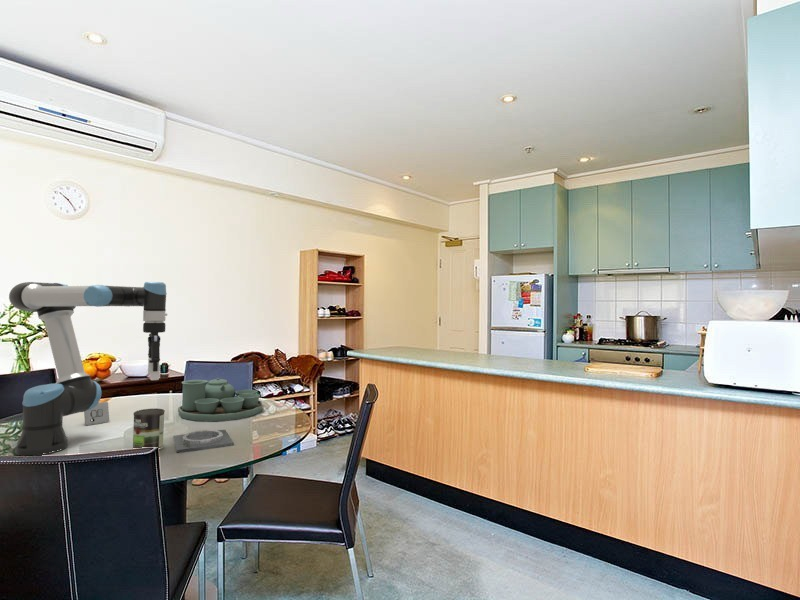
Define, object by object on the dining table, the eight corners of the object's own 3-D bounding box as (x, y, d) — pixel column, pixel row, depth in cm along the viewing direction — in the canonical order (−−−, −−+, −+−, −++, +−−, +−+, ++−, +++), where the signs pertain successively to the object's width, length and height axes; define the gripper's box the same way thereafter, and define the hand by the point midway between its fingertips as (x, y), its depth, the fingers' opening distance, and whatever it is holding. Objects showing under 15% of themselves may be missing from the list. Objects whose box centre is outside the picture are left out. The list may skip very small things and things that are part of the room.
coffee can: (147, 454, 162) (148, 415, 162) (125, 451, 165) (126, 413, 165) (169, 446, 172) (170, 409, 172) (148, 443, 175) (149, 407, 175)
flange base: (176, 452, 164) (177, 446, 164) (173, 438, 182) (173, 432, 182) (233, 445, 175) (233, 438, 175) (224, 431, 192) (225, 426, 192)
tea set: (216, 427, 200) (216, 390, 200) (161, 414, 219) (162, 381, 219) (279, 409, 235) (280, 378, 235) (227, 400, 254) (227, 371, 254)
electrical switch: (85, 426, 196) (85, 405, 197) (81, 425, 199) (81, 404, 200) (109, 422, 203) (109, 401, 204) (105, 421, 206) (105, 401, 207)
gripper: (168, 323, 162) (167, 381, 162) (162, 320, 183) (161, 372, 183) (145, 323, 158) (144, 383, 158) (141, 320, 179) (140, 373, 179)
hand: (153, 377), depth 171 cm, fingers open, 13 cm apart
